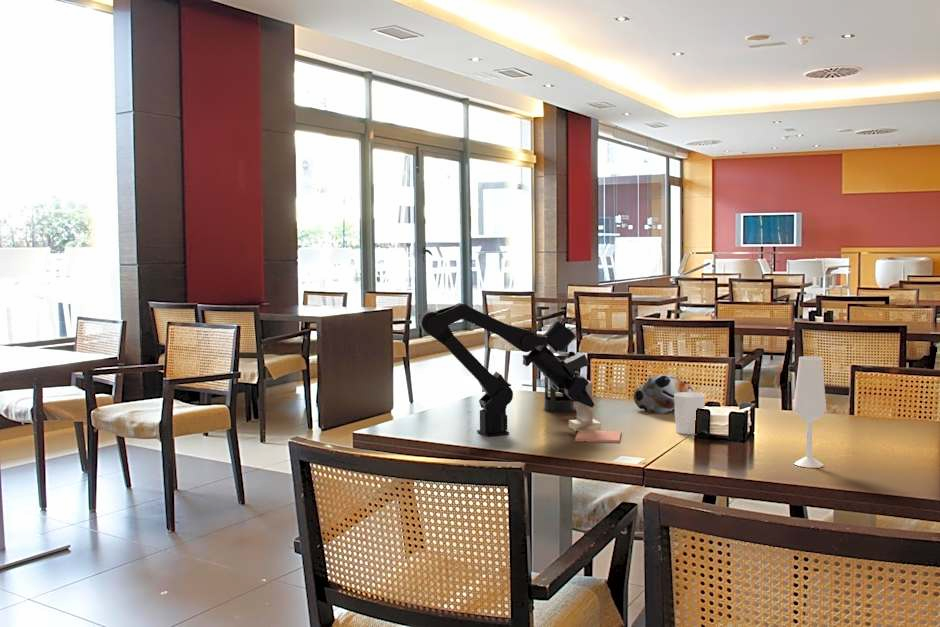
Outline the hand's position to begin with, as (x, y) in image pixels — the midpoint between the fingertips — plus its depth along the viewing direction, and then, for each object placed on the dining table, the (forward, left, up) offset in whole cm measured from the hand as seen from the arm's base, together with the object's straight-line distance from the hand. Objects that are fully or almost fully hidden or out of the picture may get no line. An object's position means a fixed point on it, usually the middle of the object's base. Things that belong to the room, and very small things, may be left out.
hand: (589, 404), depth 238 cm
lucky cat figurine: (+33, +9, -7) cm, 35 cm away
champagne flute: (+19, -57, -7) cm, 60 cm away
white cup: (+20, -17, -7) cm, 27 cm away
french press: (+9, +27, -7) cm, 29 cm away
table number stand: (-1, 0, -7) cm, 7 cm away
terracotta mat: (-4, -10, -7) cm, 13 cm away
